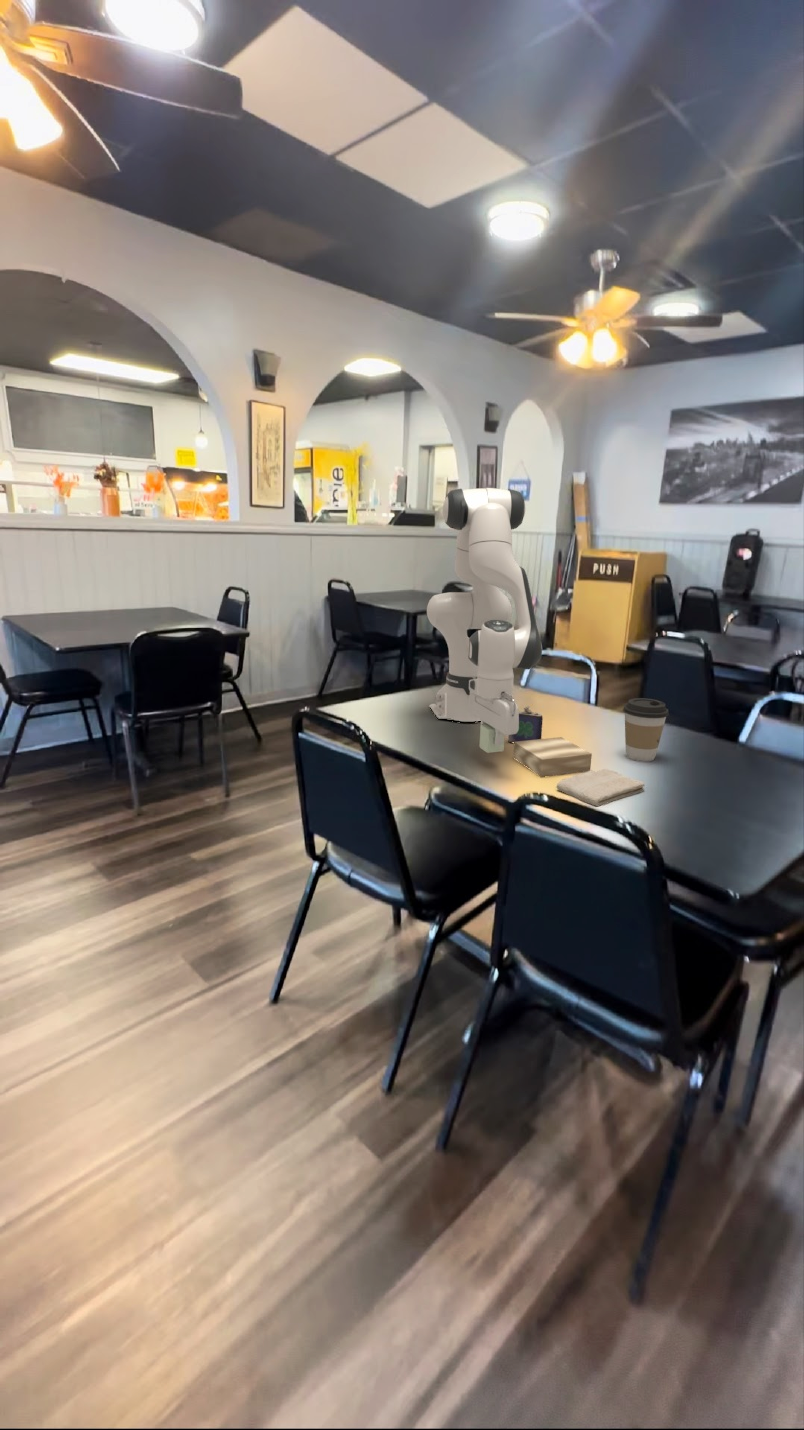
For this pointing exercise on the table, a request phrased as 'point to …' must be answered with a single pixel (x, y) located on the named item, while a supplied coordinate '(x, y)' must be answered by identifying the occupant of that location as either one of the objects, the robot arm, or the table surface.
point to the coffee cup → (643, 727)
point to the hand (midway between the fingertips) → (491, 741)
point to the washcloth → (600, 786)
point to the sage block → (489, 739)
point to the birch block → (552, 756)
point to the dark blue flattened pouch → (528, 726)
